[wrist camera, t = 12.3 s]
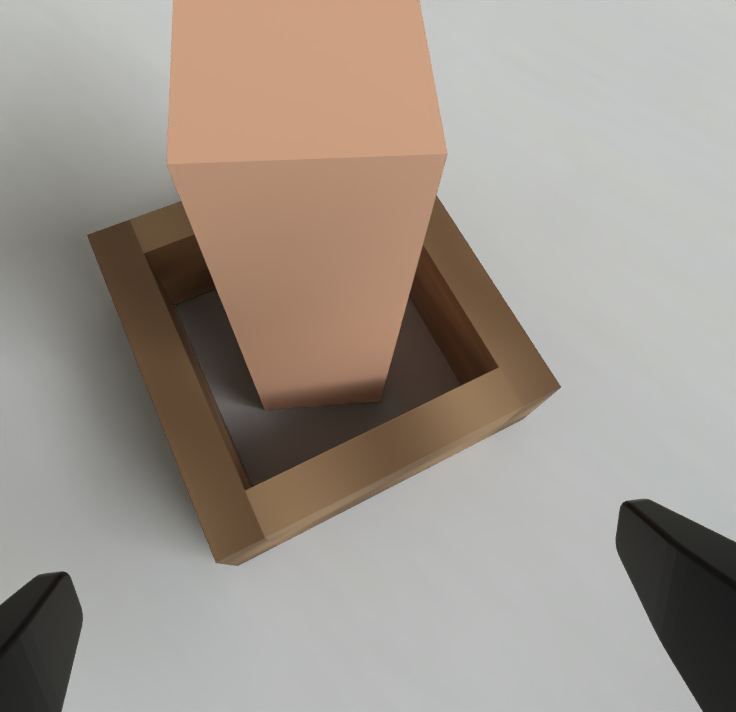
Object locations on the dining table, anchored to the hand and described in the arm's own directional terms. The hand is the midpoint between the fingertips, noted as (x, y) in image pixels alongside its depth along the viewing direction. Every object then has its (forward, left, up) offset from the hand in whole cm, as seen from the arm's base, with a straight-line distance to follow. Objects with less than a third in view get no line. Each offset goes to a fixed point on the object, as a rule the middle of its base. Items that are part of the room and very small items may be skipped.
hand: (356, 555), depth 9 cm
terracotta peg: (+3, +8, -12) cm, 14 cm away
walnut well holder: (+3, +8, -12) cm, 14 cm away
